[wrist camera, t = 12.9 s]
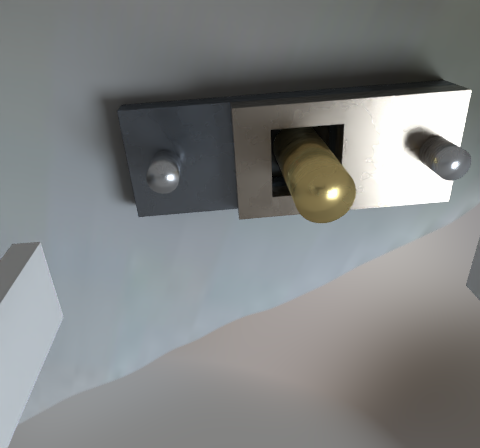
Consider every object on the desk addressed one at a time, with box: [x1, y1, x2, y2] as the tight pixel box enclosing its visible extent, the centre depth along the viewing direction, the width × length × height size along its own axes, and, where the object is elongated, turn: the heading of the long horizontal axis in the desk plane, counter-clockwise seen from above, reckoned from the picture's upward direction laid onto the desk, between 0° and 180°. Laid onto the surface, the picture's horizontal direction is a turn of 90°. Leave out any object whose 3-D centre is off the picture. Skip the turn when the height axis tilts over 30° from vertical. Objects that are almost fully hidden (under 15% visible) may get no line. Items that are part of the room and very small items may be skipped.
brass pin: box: [273, 126, 356, 223], centre depth 31 cm, size 4×4×10 cm
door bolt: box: [117, 80, 472, 219], centre depth 32 cm, size 26×9×7 cm, turn 94°
